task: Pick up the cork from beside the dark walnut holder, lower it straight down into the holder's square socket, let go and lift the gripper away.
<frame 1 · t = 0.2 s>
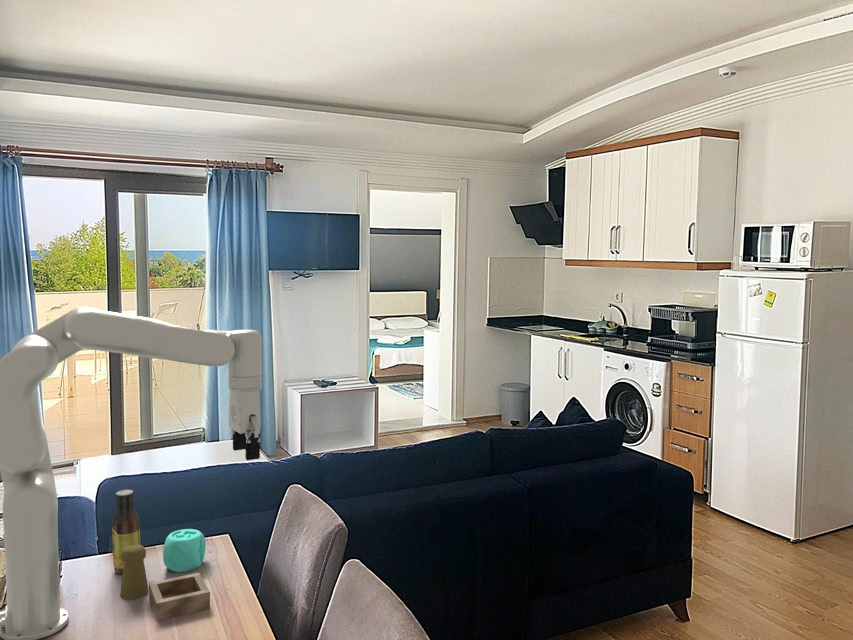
hand: (246, 454, 164), 31 cm above the table, tool pointing down, fingers open, 9 cm apart
cork: (134, 594, 159), on the table
sauce bottle: (127, 570, 171), on the table
shaker holder: (179, 603, 155), on the table
decorative dice: (185, 566, 174), on the table
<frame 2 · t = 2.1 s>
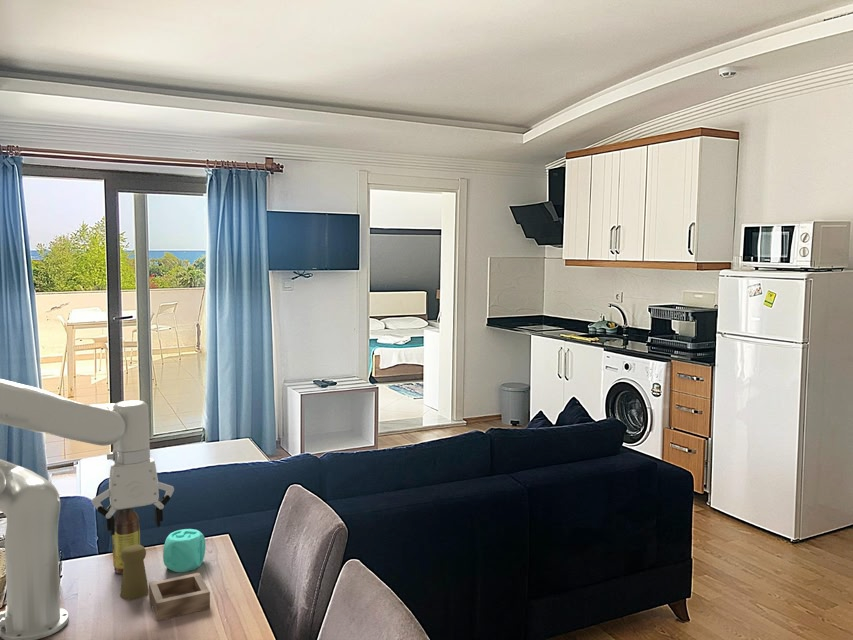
hand: (135, 528, 159), 15 cm above the table, tool pointing down, fingers open, 9 cm apart
nothing on the table moved.
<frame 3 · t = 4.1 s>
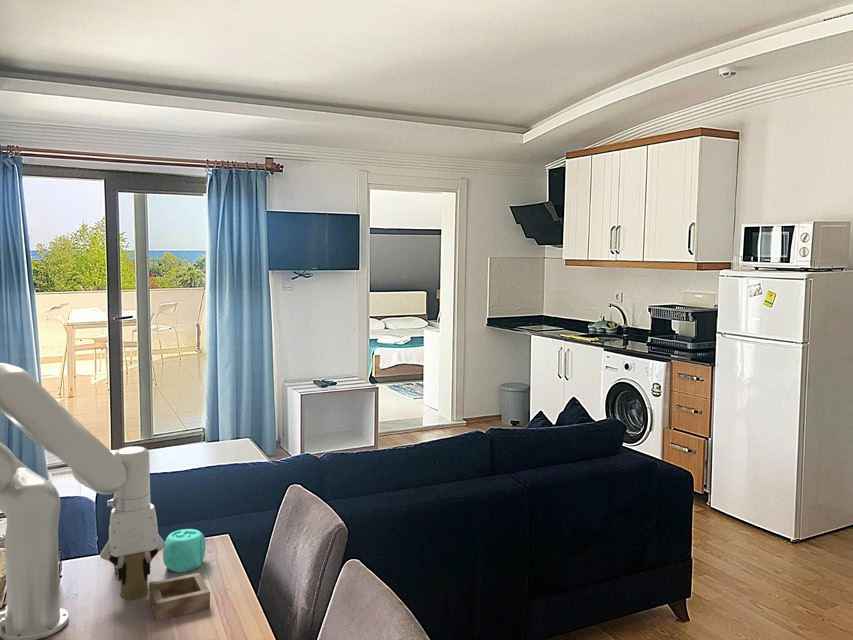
hand: (134, 579, 159), 3 cm above the table, tool pointing down, fingers closed on cork, 4 cm apart
cork: (134, 594, 159), on the table, touching gripper
everything else where it was.
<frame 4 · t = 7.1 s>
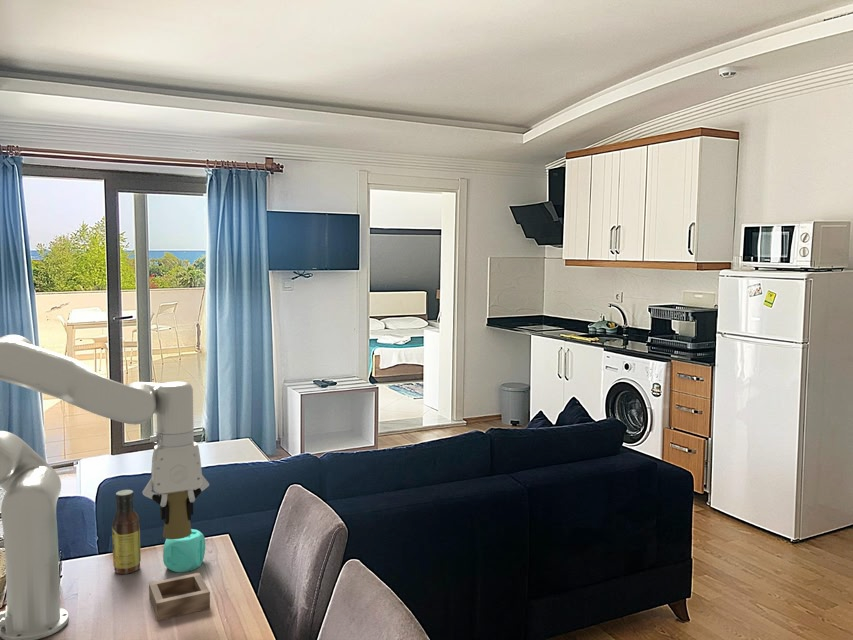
hand: (177, 519, 153), 19 cm above the table, tool pointing down, fingers closed on cork, 4 cm apart
cork: (177, 534, 154), point 16 cm above the table, touching gripper
everything else where it was.
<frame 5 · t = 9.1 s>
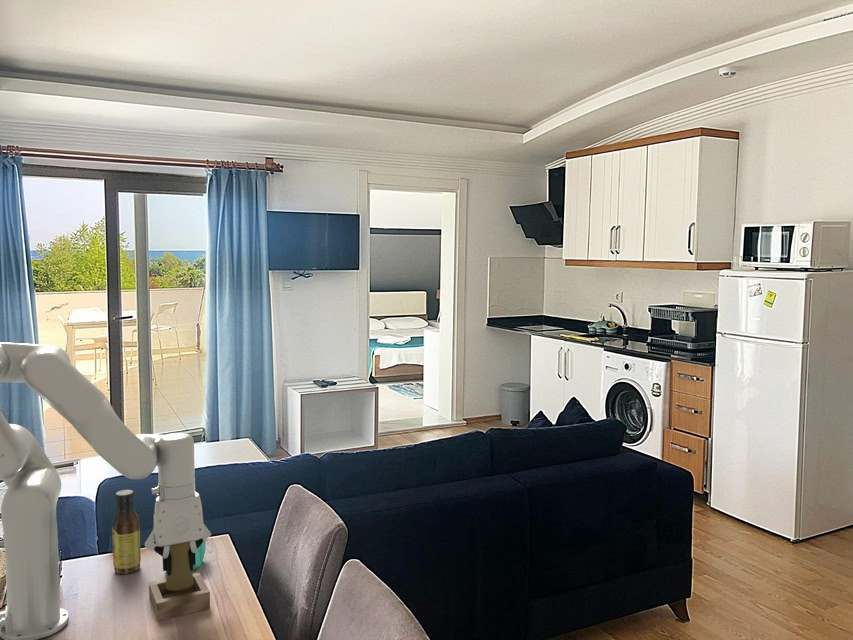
hand: (179, 569, 154), 8 cm above the table, tool pointing down, fingers closed on cork, 4 cm apart
cork: (179, 585, 154), point 4 cm above the table, touching gripper
everything else where it was.
when the fingers open (5 cm above the table, at t = 10.4 s): cork drops 1 cm, resting on shaker holder.
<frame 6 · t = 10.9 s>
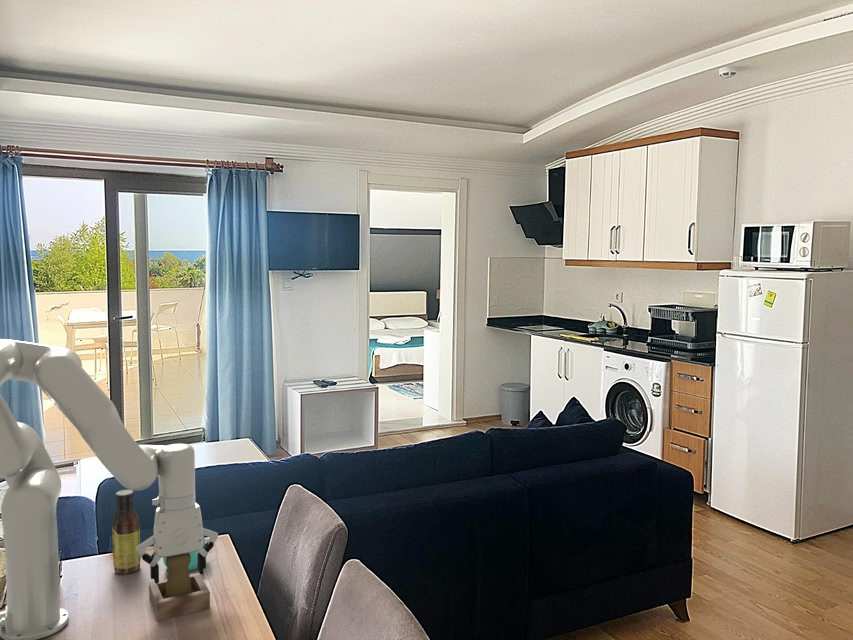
hand: (178, 576, 154), 6 cm above the table, tool pointing down, fingers open, 9 cm apart
cork: (178, 601, 154), point 1 cm above the table, touching shaker holder
everything else where it was.
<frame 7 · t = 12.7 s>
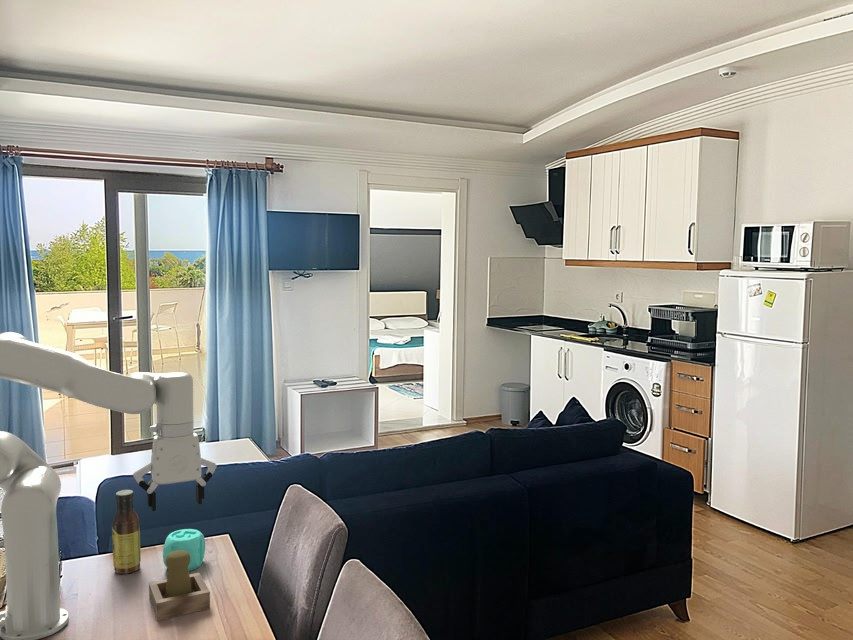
hand: (176, 505, 153), 22 cm above the table, tool pointing down, fingers open, 9 cm apart
nothing on the table moved.
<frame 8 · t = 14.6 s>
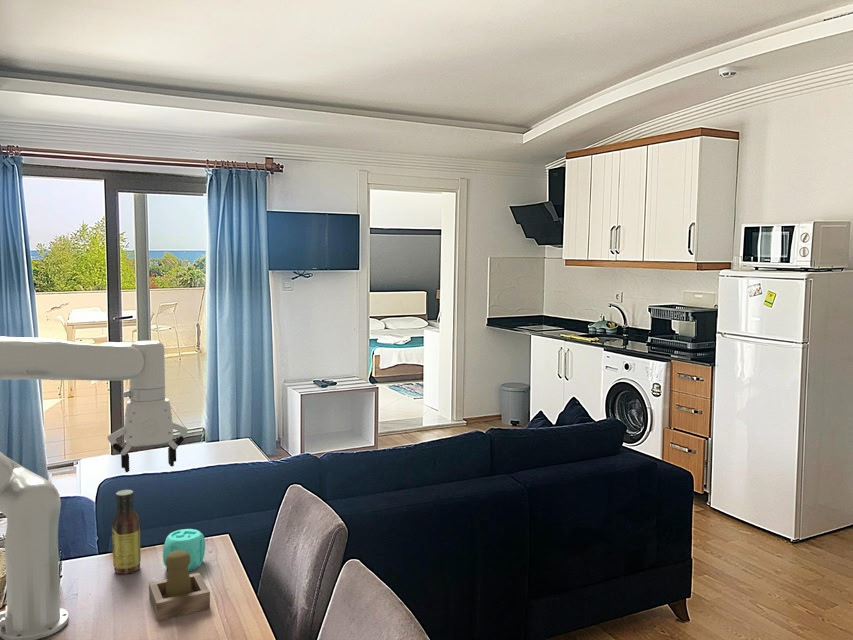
hand: (149, 467, 161), 28 cm above the table, tool pointing down, fingers open, 9 cm apart
nothing on the table moved.
at the end: cork 0.1 cm off-centre on the shaker holder, point 0.6 cm above the shaker holder's base; cork tilted 0°; the gripper is holding nothing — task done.
